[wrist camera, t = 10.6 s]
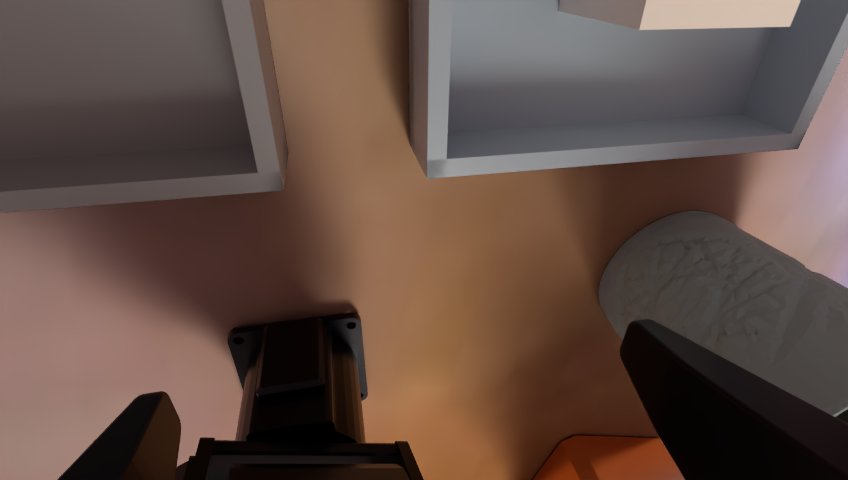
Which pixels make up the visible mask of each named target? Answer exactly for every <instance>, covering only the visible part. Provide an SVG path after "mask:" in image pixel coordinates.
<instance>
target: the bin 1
mask: <svg viewBox="0 0 848 480" xmlns="http://www.w3.org/2000/svg"><path fill="white" fill-rule="evenodd" d="M287 160H288V147H287V141H286V135H285V129H284V123H283V116H282V110H281V104H280V98H279V92H278V86H277V80H276V74H275V68H274V62H273V56H272V50H271V44H270V38H269V32H268V26H267V20H266V14H265V8H264V1H263V0H0V213H8V212H21V211H33V210H45V209H58V208H70V207H83V206H95V205H108V204H120V203H132V202H145V201H157V200H170V199H182V198H195V197H207V196H219V195H232V194H244V193H257V192H269V191H281V190H284V182H285V175H286V167H287Z"/></svg>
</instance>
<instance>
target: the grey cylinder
mask: <svg viewBox="0 0 848 480" xmlns="http://www.w3.org/2000/svg"><path fill="white" fill-rule="evenodd" d="M599 303H600V305H601V308H602V310H603V313H604V315H605V316H606V318H607V319H608V321H609V323H610V324H611V326H612V327H613V329H614V330H615V332H616V333H617V334H618V336H619V337H620V339H621V340H623V338H624V335H625V332H626V329H627V326H628V324H629V323H630V322H631V321H635V320H642V319H651V320H653V321H655V322H657V323H659V324H661V325H663V326H665V327H667V328H669V329H671V330H672V331H674V332H676V333H678V334H680V335H682V336H684V337H686V338H687V339H689V340H691V341H693V342H695V343H697V344H699V345H701V346H703V347H704V348H706V349H708V350H710V351H712V352H714V353H716V354H718V355H719V356H721V357H723V358H725V359H727V360H729V361H731V362H733V363H734V364H736V365H738V366H740V367H742V368H744V369H746V370H748V371H750V372H751V373H753V374H755V375H757V376H759V377H761V378H763V379H765V380H766V381H768V382H770V383H772V384H774V385H776V386H778V387H780V388H782V389H783V390H785V391H787V392H789V393H791V394H793V395H795V396H797V397H798V398H800V399H802V400H804V401H806V402H808V403H810V404H812V405H814V406H815V407H817V408H819V409H821V410H823V411H825V412H827V413H829V414H830V415H832V416H834V417H836V418H838V419H840V420H842V421H844V422H845V423H847V424H848V288H846V287H844V286H842V285H840V284H839V283H837V282H835V281H833V280H831V279H829V278H828V277H826V276H824V275H822V274H819V273H816V272H812V271H810V270H809V269H807V268H806V267H805V266H804V265H803V264H802V263H800V262H799V261H797V260H796V259H794V258H792V257H790V256H788V255H787V254H785V253H783V252H781V251H779V250H777V249H776V248H774V247H772V246H770V245H768V244H766V243H765V242H763V241H761V240H759V239H757V238H756V237H754V236H752V235H750V234H748V233H747V232H745V231H743V230H742V229H740V228H738V227H737V226H736V225H735V224H733V223H731V222H729V221H728V220H726V219H724V218H722V217H720V216H718V215H716V214H712V213H708V212H702V211H684V212H679V213H675V214H672V215H668V216H666V217H663V218H661V219H659V220H657V221H655V222H653V223H651V224H649V225H647V226H646V227H644V228H643V229H641V230H640V231H638V232H637V233H636V234H634V235H633V236H632V237H631V238H630V239H628V240H627V241H626V242H625V243H624V244H623V245H622V246H621V247H620V248H619V249H618V250H617V252H616V253H615V254H614V256H613V257H612V258H611V260H610V261H609V263H608V265H607V267H606V268H605V270H604V272H603V275H602V277H601V280H600V285H599Z"/></svg>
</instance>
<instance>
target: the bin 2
mask: <svg viewBox="0 0 848 480" xmlns="http://www.w3.org/2000/svg"><path fill="white" fill-rule="evenodd" d="M559 2H560V0H409V93H410V145H411V147H412V149H413V151H414V153H415V155H416V157H417V159H418V161H419V163H420V166H421V168H422V170H423V172H424V174H425V176H426V178H427V179H430V178H443V177H455V176H468V175H480V174H493V173H505V172H517V171H530V170H542V169H555V168H567V167H579V166H592V165H604V164H617V163H629V162H642V161H654V160H666V159H679V158H691V157H704V156H716V155H729V154H741V153H753V152H766V151H778V150H791V149H798V147H799V145H800V143H801V141H802V139H803V137H804V135H805V133H806V131H807V129H808V127H809V125H810V122H811V120H812V118H813V116H814V114H815V112H816V110H817V108H818V106H819V104H820V102H821V100H822V98H823V95H824V93H825V91H826V89H827V87H828V85H829V83H830V81H831V79H832V77H833V75H834V73H835V71H836V69H837V66H838V64H839V62H840V60H841V58H842V56H843V54H844V52H845V50H846V48H847V46H848V0H801V1H800V3H799V6H798V8H797V11H796V13H795V16H794V18H793V21H792V23H791V25H790V27H754V28H708V29H662V30H637V29H633V28H629V27H624V26H620V25H616V24H612V23H607V22H603V21H599V20H594V19H590V18H586V17H582V16H577V15H573V14H569V13H565V12H560V11H558V8H559Z"/></svg>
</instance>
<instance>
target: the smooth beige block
mask: <svg viewBox="0 0 848 480" xmlns="http://www.w3.org/2000/svg"><path fill="white" fill-rule="evenodd" d="M800 1H801V0H560V2H559V8H558V11H560V12H565V13H569V14H573V15H577V16H582V17H586V18H590V19H594V20H599V21H603V22H607V23H612V24H616V25H620V26H624V27H629V28H633V29H637V30H662V29H708V28H754V27H790V25H791V23H792V21H793V18H794V16H795V13H796V11H797V8H798V6H799V3H800Z"/></svg>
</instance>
